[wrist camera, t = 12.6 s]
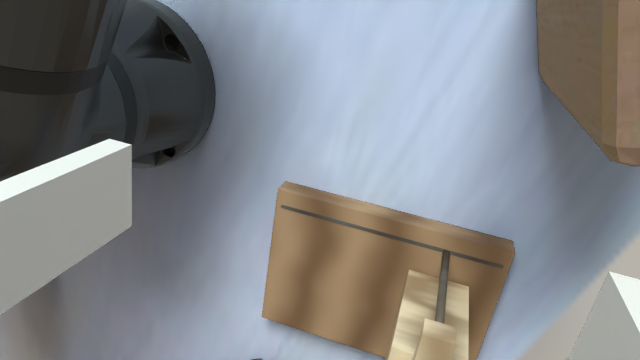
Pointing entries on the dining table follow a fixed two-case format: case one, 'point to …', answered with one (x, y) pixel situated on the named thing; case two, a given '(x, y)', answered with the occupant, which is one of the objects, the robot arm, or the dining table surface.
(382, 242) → the board
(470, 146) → the dining table surface
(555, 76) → the wooden block
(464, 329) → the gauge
